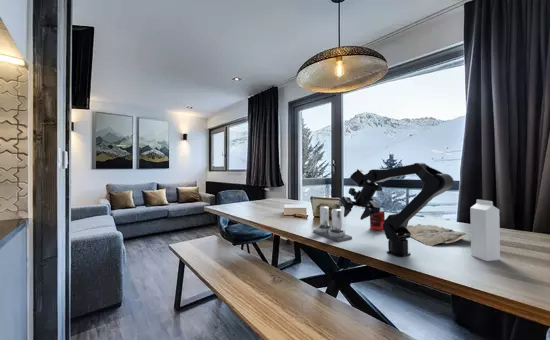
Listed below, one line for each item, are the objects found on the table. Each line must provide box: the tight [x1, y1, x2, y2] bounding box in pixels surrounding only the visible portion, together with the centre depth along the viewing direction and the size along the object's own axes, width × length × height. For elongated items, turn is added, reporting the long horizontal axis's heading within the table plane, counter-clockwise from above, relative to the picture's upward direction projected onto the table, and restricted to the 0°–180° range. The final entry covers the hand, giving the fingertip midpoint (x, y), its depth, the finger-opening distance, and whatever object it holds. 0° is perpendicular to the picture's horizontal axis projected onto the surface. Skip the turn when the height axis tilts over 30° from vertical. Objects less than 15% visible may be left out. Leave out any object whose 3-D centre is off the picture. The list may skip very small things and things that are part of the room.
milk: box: [469, 198, 501, 262], centre depth 90 cm, size 6×6×22 cm
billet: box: [331, 208, 343, 233], centre depth 120 cm, size 5×5×13 cm
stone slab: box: [406, 223, 471, 247], centre depth 119 cm, size 33×27×5 cm
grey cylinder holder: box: [312, 205, 353, 243], centre depth 124 cm, size 20×9×14 cm, turn 27°
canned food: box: [369, 208, 386, 232], centre depth 134 cm, size 8×8×11 cm
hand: (352, 217), depth 116 cm, fingers open, 9 cm apart
